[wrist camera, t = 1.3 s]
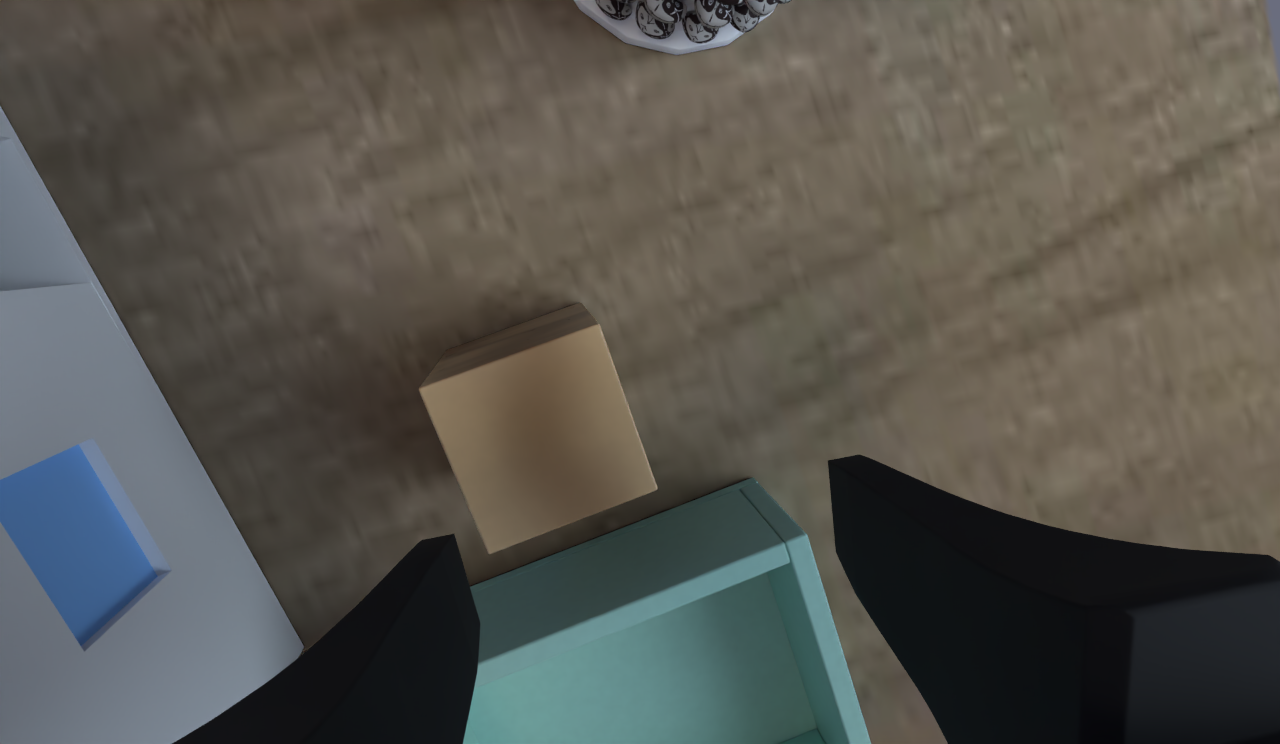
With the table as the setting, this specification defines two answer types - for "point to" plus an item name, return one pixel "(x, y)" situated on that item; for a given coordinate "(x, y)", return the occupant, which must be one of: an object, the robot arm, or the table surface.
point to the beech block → (537, 427)
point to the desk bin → (667, 637)
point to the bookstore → (106, 516)
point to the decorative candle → (678, 21)
